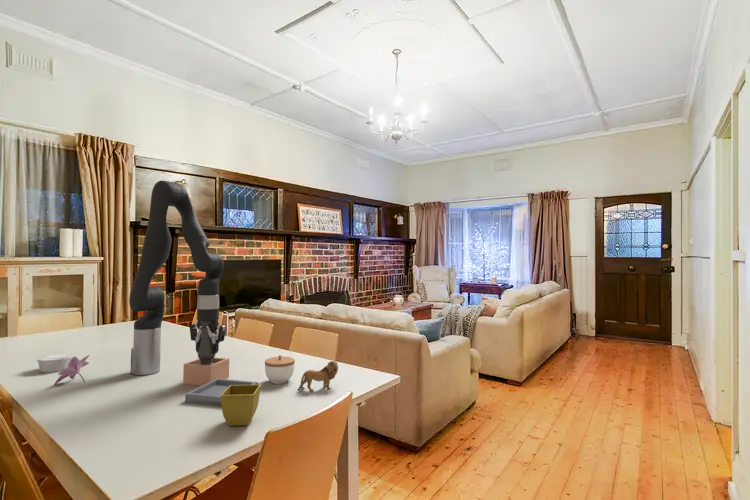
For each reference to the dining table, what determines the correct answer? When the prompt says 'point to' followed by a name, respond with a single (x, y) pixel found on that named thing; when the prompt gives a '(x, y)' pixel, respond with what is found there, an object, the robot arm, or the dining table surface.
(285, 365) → the lidded jar
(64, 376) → the lily
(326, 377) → the lion figurine
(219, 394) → the tray
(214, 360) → the square copper bin
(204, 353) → the candle holder
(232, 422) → the flower pot
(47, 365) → the ramekin
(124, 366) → the dining table surface
